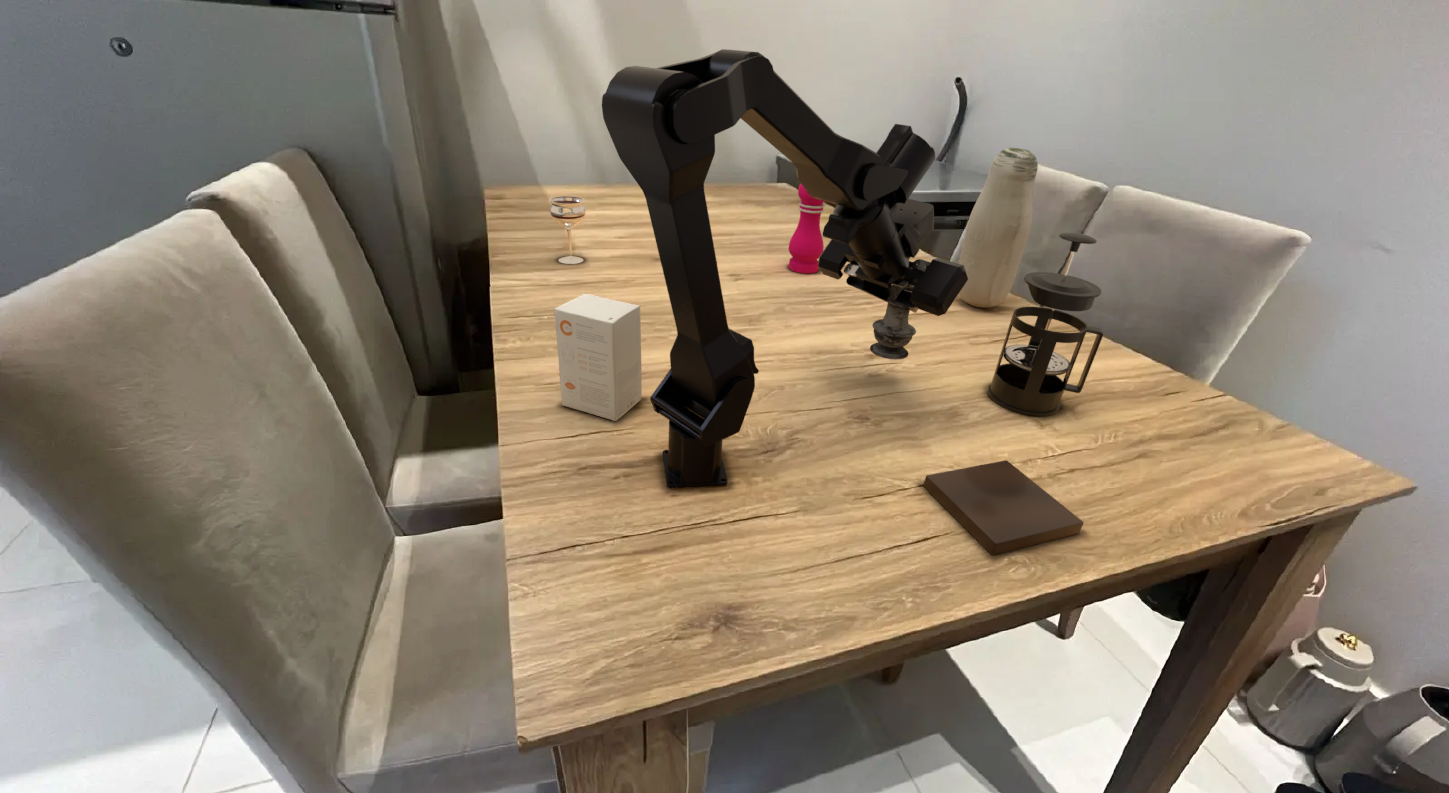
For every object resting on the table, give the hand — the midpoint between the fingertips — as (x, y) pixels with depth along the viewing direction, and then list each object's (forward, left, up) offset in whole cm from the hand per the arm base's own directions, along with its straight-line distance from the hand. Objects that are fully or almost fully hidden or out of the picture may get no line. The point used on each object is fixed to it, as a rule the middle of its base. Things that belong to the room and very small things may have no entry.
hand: (904, 305), depth 85 cm
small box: (-5, +41, -11) cm, 42 cm away
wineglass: (+53, +48, -11) cm, 72 cm away
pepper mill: (+49, 0, -11) cm, 50 cm away
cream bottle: (+29, -29, -11) cm, 43 cm away
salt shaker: (-1, +1, -7) cm, 7 cm away
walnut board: (-29, 0, -11) cm, 31 cm away
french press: (-7, -17, -11) cm, 22 cm away
